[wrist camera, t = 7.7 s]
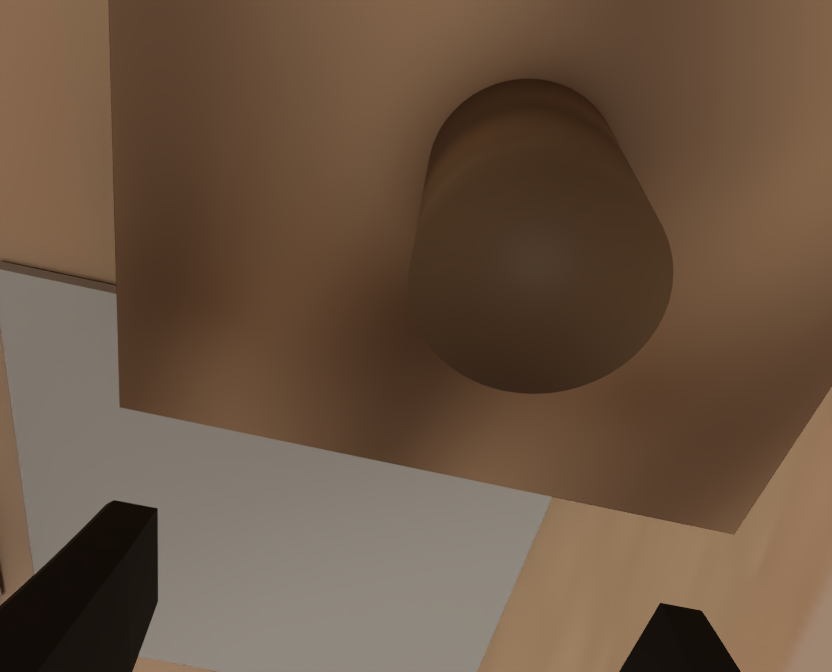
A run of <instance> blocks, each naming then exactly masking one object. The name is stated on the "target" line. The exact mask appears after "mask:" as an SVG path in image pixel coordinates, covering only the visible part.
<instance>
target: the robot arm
mask: <svg viewBox="0 0 832 672" xmlns="http://www.w3.org/2000/svg"><path fill="white" fill-rule="evenodd" d="M1 599H2V594H1V589H0V601H1ZM157 603H158V508H153V507H148V506H143V505H138V504H132V503H127V502H122V501H116V500H113V501H111V502H109V503H108V504H106V505H105V506H104V507H103V508H102V509H101V510H100V511H99V512H98V513H97V514H96V515H95V516H94V517H93V518H92V519H91V520H90V521H89V522H88V523H87V524H86V525H85V526H84V527H83V528H82V529H81V530H80V531H79V532H78V533H77V534H76V535H75V536H74V537H73V538H72V539H71V540H70V541H69V542H68V543H67V544H66V545H65V546H64V547H63V548H62V549H61V550H60V551H59V552H58V553H57V554H56V555H55V556H54V557H53V558H52V559H50V560H49V561H48V562H47V563H46V564H45V565H44V566H43V567H42V568H41V569H40V570H39V571H38V572H37V573H36V574H35V575H34V576H32V577H31V578H30V579H29V580H28V581H27V582H26V583H25V584H24V585H23V586H22V587H21V588H19V589H18V590H17V591H16V592H15V593H14V594H13V595H12V596H11V597H9V598H8V599H7V600H6V601H5V602H4V603H3V604H2V605H0V672H132V671H133V668H134V666H135V663H136V660H137V658H138V655H139V652H140V650H141V647H142V644H143V642H144V639H145V636H146V633H147V631H148V628H149V625H150V622H151V620H152V617H153V614H154V611H155V608H156V606H157ZM619 672H740V670H739V668H738V667H737V665H736V664H735V662H734V661H733V659H732V657H731V656H730V654H729V653H728V651H727V649H726V648H725V646H724V645H723V643H722V642H721V640H720V638H719V637H718V635H717V634H716V632H715V631H714V629H713V627H712V626H711V624H710V623H709V621H708V620H707V618H706V617H705V615H704V614H703V612H702V611H700V610H695V609H690V608H684V607H679V606H674V605H668V604H663V603H660V604H659V606H658V608H657V609H656V611H655V613H654V614H653V616H652V618H651V619H650V621H649V623H648V624H647V626H646V628H645V630H644V631H643V633H642V635H641V636H640V638H639V640H638V641H637V643H636V645H635V646H634V648H633V650H632V651H631V653H630V655H629V656H628V658H627V660H626V661H625V663H624V665H623V666H622V668H621V670H620V671H619Z"/></svg>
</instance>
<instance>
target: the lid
mask: <svg viewBox="0 0 832 672" xmlns="http://www.w3.org/2000/svg"><path fill="white" fill-rule="evenodd" d="M108 1H109V38H110V75H111V112H112V149H113V186H114V223H115V260H116V297H117V334H118V371H119V407H120V408H125V409H130V410H135V411H140V412H144V413H149V414H154V415H159V416H164V417H169V418H173V419H178V420H183V421H188V422H193V423H198V424H202V425H207V426H212V427H217V428H222V429H227V430H231V431H236V432H241V433H246V434H251V435H256V436H260V437H265V438H270V439H275V440H280V441H285V442H290V443H294V444H299V445H304V446H309V447H314V448H319V449H323V450H328V451H333V452H338V453H343V454H348V455H352V456H357V457H362V458H367V459H372V460H377V461H381V462H386V463H391V464H396V465H401V466H406V467H410V468H415V469H420V470H425V471H430V472H435V473H439V474H444V475H449V476H454V477H459V478H464V479H468V480H473V481H478V482H483V483H488V484H493V485H497V486H502V487H507V488H512V489H517V490H522V491H526V492H531V493H536V494H541V495H546V496H551V497H555V498H560V499H565V500H570V501H575V502H580V503H584V504H589V505H594V506H599V507H604V508H609V509H613V510H618V511H623V512H628V513H633V514H638V515H642V516H647V517H652V518H657V519H662V520H667V521H671V522H676V523H681V524H686V525H691V526H696V527H700V528H705V529H710V530H715V531H720V532H725V533H729V534H735V533H736V531H737V530H738V528H739V526H740V525H741V523H742V522H743V520H744V519H745V517H746V516H747V514H748V513H749V511H750V510H751V508H752V507H753V505H754V504H755V502H756V501H757V499H758V498H759V496H760V495H761V493H762V492H763V490H764V488H765V487H766V485H767V484H768V482H769V481H770V479H771V478H772V476H773V475H774V473H775V472H776V470H777V469H778V467H779V466H780V464H781V463H782V461H783V460H784V458H785V457H786V455H787V454H788V452H789V451H790V449H791V447H792V446H793V444H794V443H795V441H796V440H797V438H798V437H799V435H800V434H801V432H802V431H803V429H804V428H805V426H806V425H807V423H808V422H809V420H810V419H811V417H812V416H813V414H814V413H815V411H816V409H817V408H818V406H819V405H820V403H821V402H822V400H823V399H824V397H825V396H826V394H827V393H828V391H829V390H830V388H831V387H832V0H108Z"/></svg>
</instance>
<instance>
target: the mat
mask: <svg viewBox="0 0 832 672" xmlns="http://www.w3.org/2000/svg"><path fill="white" fill-rule="evenodd" d="M0 327H1V335H2V342H3V349H4V356H5V364H6V371H7V378H8V386H9V393H10V400H11V408H12V415H13V422H14V430H15V437H16V444H17V452H18V459H19V466H20V473H21V481H22V488H23V495H24V503H25V510H26V517H27V525H28V532H29V539H30V547H31V554H32V561H33V569H34V575H35V574H36V573H37V572H38V571H39V570H40V569H41V568H42V567H43V566H44V565H45V564H46V563H47V562H48V561H49V560H50V559H52V558H53V557H54V556H55V555H56V554H57V553H58V552H59V551H60V550H61V549H62V548H63V547H64V546H65V545H66V544H67V543H68V542H69V541H70V540H71V539H72V538H73V537H74V536H75V535H76V534H77V533H78V532H79V531H80V530H81V529H82V528H83V527H84V526H85V525H86V524H87V523H88V522H89V521H90V520H91V519H92V518H93V517H94V516H95V515H96V514H97V513H98V512H99V511H100V510H101V509H102V508H103V507H104V506H105V505H106V504H108V503H109V502H111V501H113V500H116V501H122V502H127V503H132V504H138V505H143V506H148V507H153V508H158V603H157V606H156V608H155V611H154V614H153V617H152V620H151V622H150V625H149V628H148V631H147V633H146V636H145V639H144V642H143V644H142V647H141V650H140V652H139V655H138V656H139V657H145V658H150V659H155V660H160V661H166V662H171V663H176V664H182V665H187V666H192V667H197V668H203V669H208V670H213V671H219V672H477V671H478V668H479V666H480V664H481V661H482V659H483V657H484V654H485V652H486V650H487V647H488V645H489V643H490V640H491V638H492V636H493V634H494V631H495V629H496V627H497V624H498V622H499V620H500V617H501V615H502V613H503V610H504V608H505V606H506V603H507V601H508V599H509V596H510V594H511V592H512V590H513V587H514V585H515V583H516V580H517V578H518V576H519V573H520V571H521V569H522V566H523V564H524V562H525V559H526V557H527V555H528V552H529V550H530V548H531V545H532V543H533V541H534V539H535V536H536V534H537V532H538V529H539V527H540V525H541V522H542V520H543V518H544V515H545V513H546V511H547V508H548V506H549V504H550V501H551V499H552V497H551V496H546V495H541V494H536V493H531V492H526V491H522V490H517V489H512V488H507V487H502V486H497V485H493V484H488V483H483V482H478V481H473V480H468V479H464V478H459V477H454V476H449V475H444V474H439V473H435V472H430V471H425V470H420V469H415V468H410V467H406V466H401V465H396V464H391V463H386V462H381V461H377V460H372V459H367V458H362V457H357V456H352V455H348V454H343V453H338V452H333V451H328V450H323V449H319V448H314V447H309V446H304V445H299V444H294V443H290V442H285V441H280V440H275V439H270V438H265V437H260V436H256V435H251V434H246V433H241V432H236V431H231V430H227V429H222V428H217V427H212V426H207V425H202V424H198V423H193V422H188V421H183V420H178V419H173V418H169V417H164V416H159V415H154V414H149V413H144V412H140V411H135V410H130V409H125V408H120V407H119V371H118V334H117V297H116V286H115V285H111V284H106V283H101V282H97V281H92V280H87V279H82V278H78V277H73V276H68V275H64V274H59V273H54V272H49V271H45V270H40V269H35V268H31V267H26V266H21V265H16V264H12V263H7V262H2V261H0Z"/></svg>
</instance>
